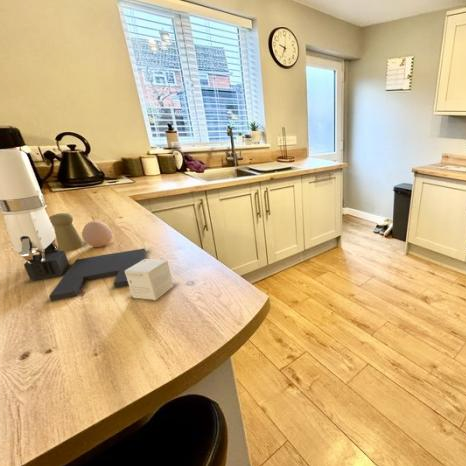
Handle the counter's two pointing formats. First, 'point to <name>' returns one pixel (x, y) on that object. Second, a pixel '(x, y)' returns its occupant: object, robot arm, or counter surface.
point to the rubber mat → (96, 272)
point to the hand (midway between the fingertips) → (49, 269)
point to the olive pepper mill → (65, 232)
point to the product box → (149, 279)
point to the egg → (97, 234)
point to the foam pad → (56, 262)
